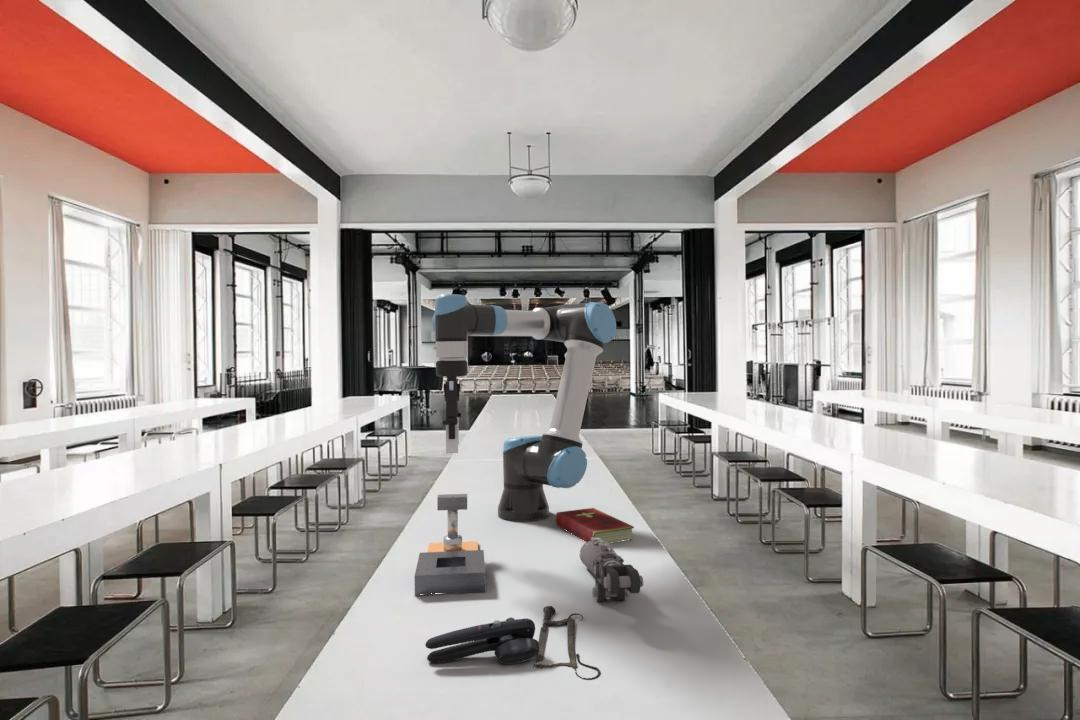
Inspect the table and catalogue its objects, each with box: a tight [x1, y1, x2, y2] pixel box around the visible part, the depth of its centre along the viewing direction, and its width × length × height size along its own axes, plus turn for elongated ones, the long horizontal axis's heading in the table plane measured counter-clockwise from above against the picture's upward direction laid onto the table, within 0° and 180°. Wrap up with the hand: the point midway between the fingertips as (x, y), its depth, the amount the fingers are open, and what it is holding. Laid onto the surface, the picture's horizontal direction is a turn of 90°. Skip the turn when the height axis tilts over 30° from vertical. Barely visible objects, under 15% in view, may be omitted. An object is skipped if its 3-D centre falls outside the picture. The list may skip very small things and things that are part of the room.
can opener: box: [424, 617, 539, 665], centre depth 97 cm, size 18×7×6 cm, turn 98°
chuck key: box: [436, 493, 468, 552], centre depth 147 cm, size 7×4×13 cm, turn 97°
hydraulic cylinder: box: [579, 538, 644, 602], centre depth 124 cm, size 7×37×10 cm, turn 6°
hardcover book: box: [555, 507, 635, 544], centre depth 164 cm, size 12×21×4 cm, turn 25°
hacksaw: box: [532, 605, 601, 681], centre depth 103 cm, size 24×10×2 cm, turn 176°
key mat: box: [426, 540, 479, 552], centre depth 148 cm, size 12×12×1 cm
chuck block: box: [414, 549, 487, 596], centre depth 130 cm, size 14×14×4 cm
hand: (452, 448), depth 147 cm, fingers open, 13 cm apart
